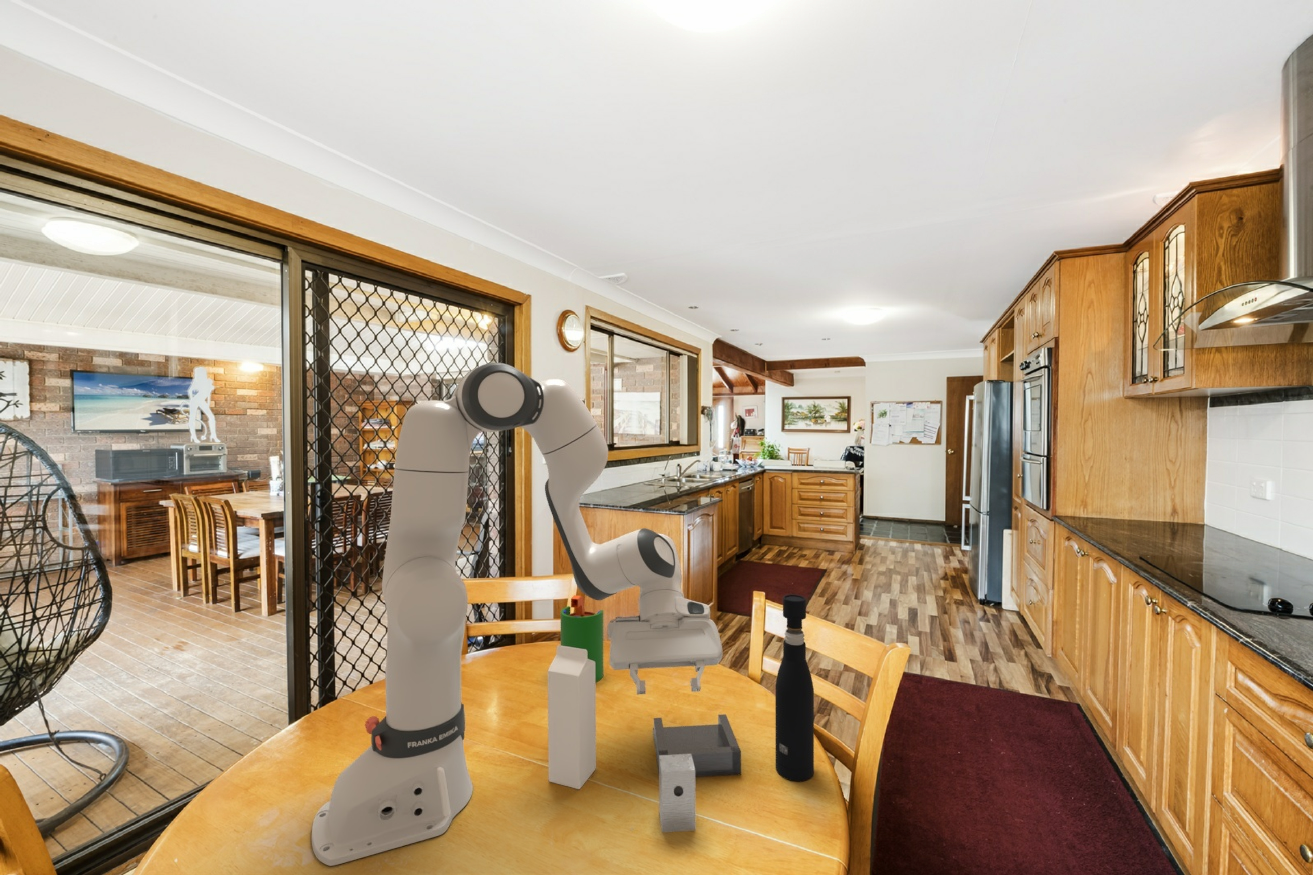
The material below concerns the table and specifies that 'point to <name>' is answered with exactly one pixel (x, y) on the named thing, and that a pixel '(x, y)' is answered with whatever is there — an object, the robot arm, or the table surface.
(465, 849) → the table surface
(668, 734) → the bracket
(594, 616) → the green pencil holder
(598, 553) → the robot arm
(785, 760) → the black water bottle
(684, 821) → the block
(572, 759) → the milk
